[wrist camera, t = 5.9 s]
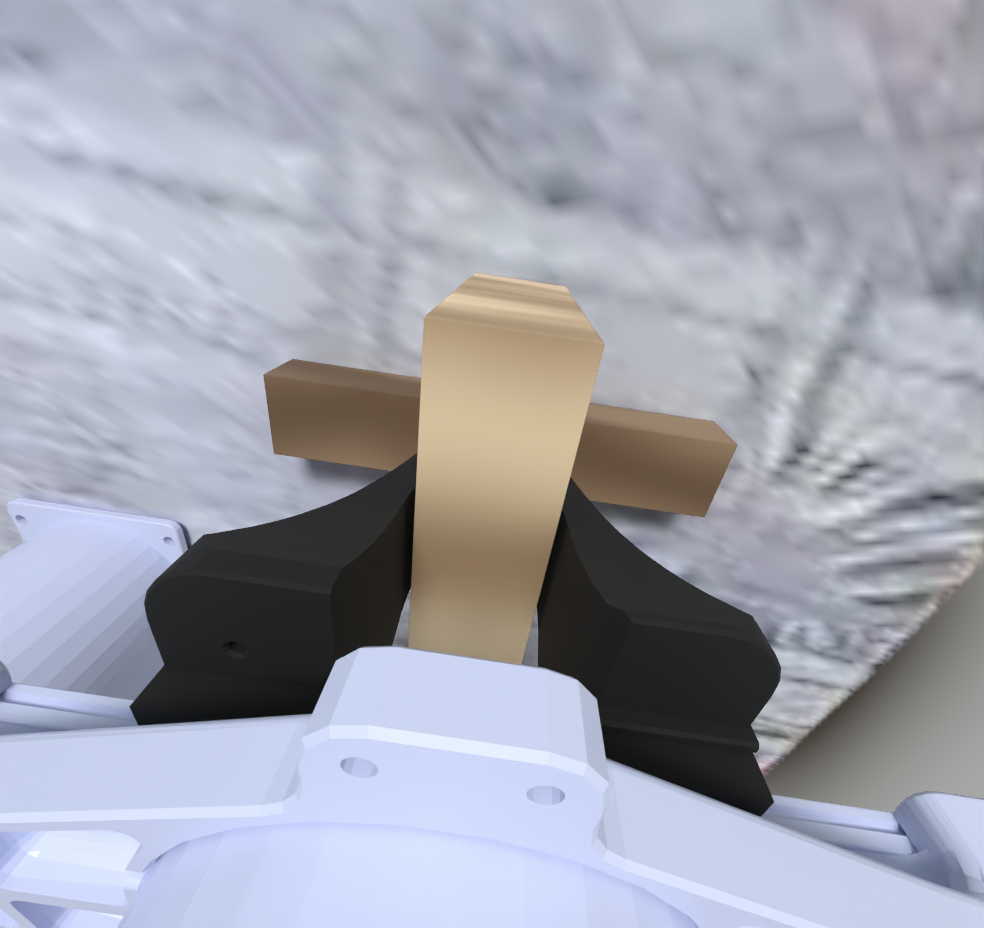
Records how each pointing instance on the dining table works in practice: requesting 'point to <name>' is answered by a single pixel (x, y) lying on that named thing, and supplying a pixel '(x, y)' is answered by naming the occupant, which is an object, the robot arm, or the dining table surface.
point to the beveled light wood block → (494, 459)
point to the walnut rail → (395, 427)
